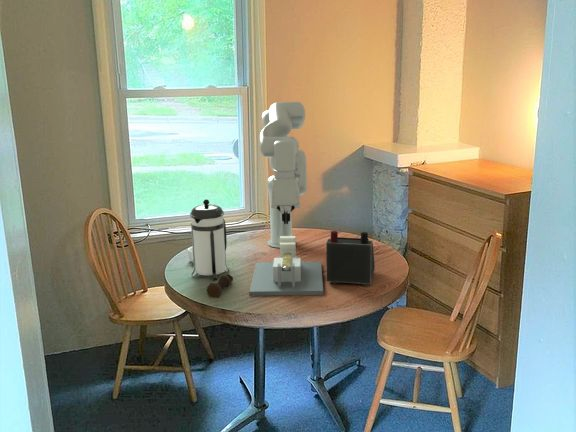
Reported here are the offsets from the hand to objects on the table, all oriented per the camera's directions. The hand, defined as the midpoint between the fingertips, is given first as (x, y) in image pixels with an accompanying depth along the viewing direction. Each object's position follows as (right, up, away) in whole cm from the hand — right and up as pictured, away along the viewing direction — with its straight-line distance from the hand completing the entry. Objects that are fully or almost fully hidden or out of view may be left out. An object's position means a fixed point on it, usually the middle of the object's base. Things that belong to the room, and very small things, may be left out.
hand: (286, 223), depth 216 cm
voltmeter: (+25, -21, +5) cm, 33 cm away
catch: (+1, -17, +14) cm, 22 cm away
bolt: (-23, -25, -4) cm, 34 cm away
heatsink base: (0, -21, +5) cm, 22 cm away
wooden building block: (0, -19, -2) cm, 19 cm away
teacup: (-37, -16, +29) cm, 49 cm away
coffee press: (-29, -20, +13) cm, 38 cm away
